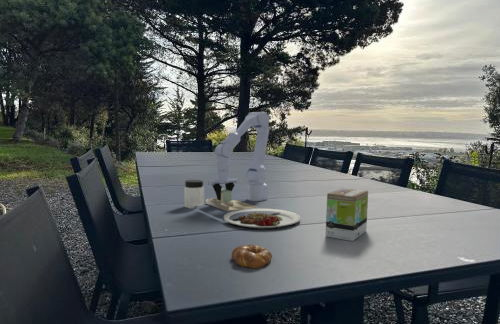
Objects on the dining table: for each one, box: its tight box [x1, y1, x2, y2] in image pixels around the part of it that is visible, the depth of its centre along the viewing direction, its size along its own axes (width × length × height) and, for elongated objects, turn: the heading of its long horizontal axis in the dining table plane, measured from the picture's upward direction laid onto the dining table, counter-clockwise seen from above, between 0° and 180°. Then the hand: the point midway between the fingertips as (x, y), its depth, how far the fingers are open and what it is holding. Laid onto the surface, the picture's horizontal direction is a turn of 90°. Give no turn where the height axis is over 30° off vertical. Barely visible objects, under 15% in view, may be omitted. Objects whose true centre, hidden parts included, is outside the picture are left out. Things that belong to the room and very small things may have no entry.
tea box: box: [325, 187, 369, 242], centre depth 126 cm, size 15×10×15 cm, turn 148°
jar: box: [183, 179, 205, 209], centre depth 171 cm, size 9×8×12 cm
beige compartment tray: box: [205, 197, 257, 212], centre depth 170 cm, size 16×20×3 cm
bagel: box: [231, 244, 273, 269], centre depth 100 cm, size 12×11×4 cm
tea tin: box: [217, 188, 233, 203], centre depth 172 cm, size 4×7×6 cm, turn 32°
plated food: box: [223, 208, 301, 229], centre depth 145 cm, size 30×30×3 cm
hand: (223, 199), depth 172 cm, fingers closed on tea tin, 4 cm apart
